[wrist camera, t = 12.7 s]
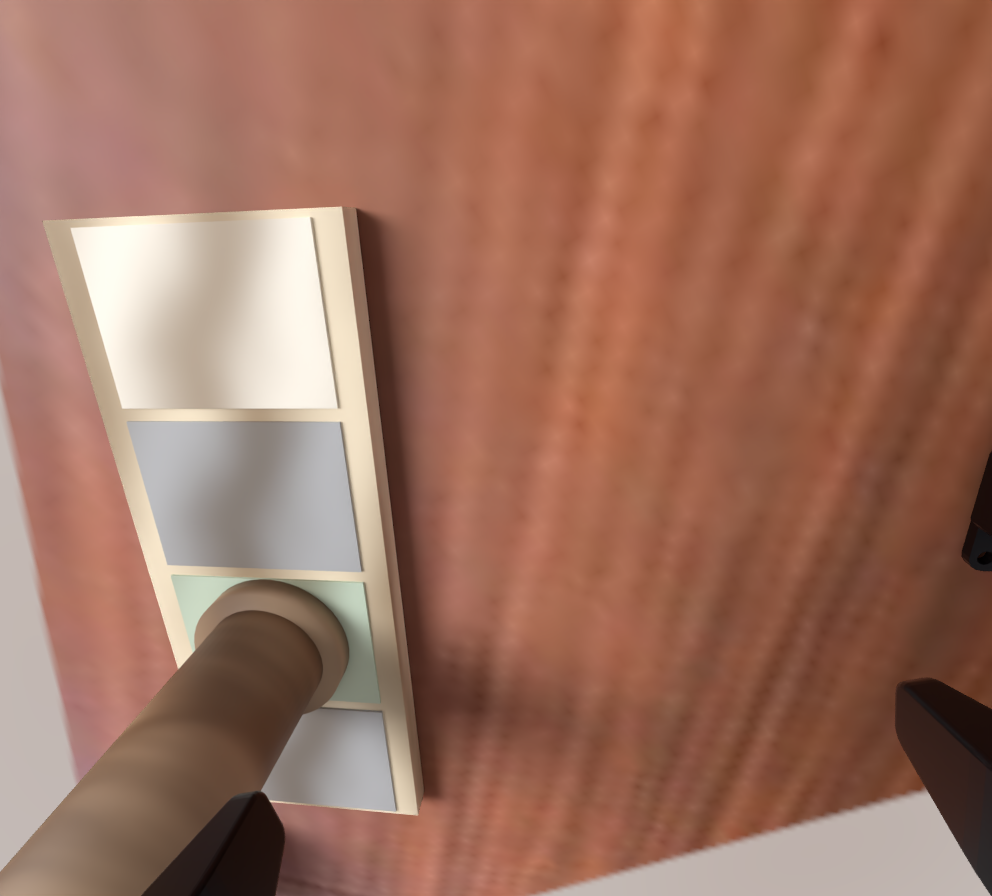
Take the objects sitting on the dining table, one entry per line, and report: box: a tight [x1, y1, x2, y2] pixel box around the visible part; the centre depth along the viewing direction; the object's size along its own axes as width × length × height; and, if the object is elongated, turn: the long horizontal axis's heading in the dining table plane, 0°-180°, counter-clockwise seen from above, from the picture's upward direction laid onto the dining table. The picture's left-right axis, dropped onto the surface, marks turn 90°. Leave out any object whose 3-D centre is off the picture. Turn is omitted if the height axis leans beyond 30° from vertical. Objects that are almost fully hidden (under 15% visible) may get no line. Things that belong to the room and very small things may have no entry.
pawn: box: [0, 579, 349, 896], centre depth 18 cm, size 6×6×11 cm
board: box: [43, 207, 424, 815], centre depth 23 cm, size 10×26×1 cm, turn 2°
